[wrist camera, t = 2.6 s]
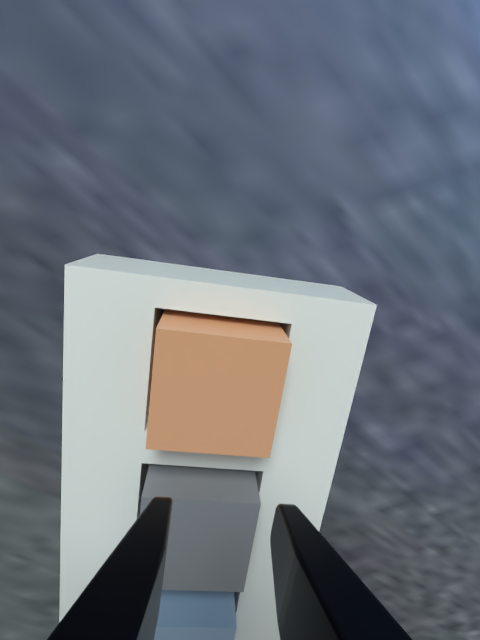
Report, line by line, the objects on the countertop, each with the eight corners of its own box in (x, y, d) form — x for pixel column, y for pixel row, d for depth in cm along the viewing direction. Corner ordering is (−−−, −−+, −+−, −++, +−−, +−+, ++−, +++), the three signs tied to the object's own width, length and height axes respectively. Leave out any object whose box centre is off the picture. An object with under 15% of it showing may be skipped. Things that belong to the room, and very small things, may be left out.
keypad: (269, 604, 24) (281, 678, 20) (84, 600, 22) (58, 679, 19) (341, 286, 18) (376, 305, 14) (98, 253, 17) (64, 264, 13)
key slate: (220, 630, 20) (222, 698, 18) (136, 629, 20) (123, 699, 17) (232, 566, 19) (236, 627, 16) (142, 563, 19) (130, 626, 16)
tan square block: (259, 417, 17) (269, 458, 14) (156, 408, 16) (145, 449, 13) (276, 320, 16) (292, 343, 13) (166, 307, 15) (155, 328, 12)
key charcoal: (238, 534, 19) (243, 591, 16) (145, 530, 18) (133, 589, 15) (252, 456, 17) (260, 503, 15) (152, 449, 17) (141, 497, 14)
